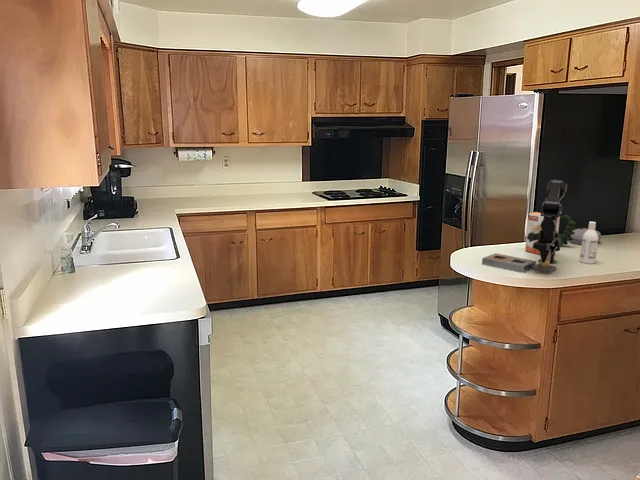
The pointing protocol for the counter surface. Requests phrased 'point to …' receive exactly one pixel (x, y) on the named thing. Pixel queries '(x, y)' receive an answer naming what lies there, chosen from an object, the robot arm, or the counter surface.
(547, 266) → the barrel peg
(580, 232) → the grey rounded bag
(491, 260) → the plate
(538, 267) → the grey square base
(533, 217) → the cracker box
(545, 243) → the robot arm
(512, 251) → the counter surface
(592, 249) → the bath foam
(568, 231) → the toy figurine
